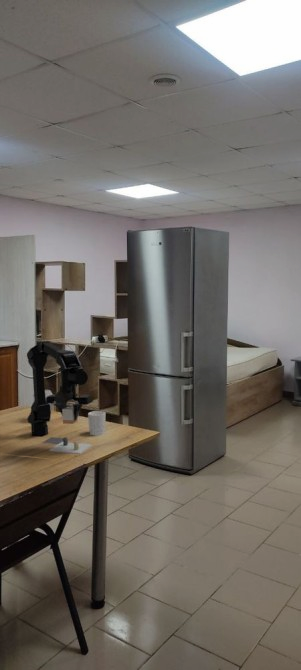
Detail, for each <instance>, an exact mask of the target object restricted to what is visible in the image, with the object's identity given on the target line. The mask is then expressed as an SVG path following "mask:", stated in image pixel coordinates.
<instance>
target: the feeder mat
mask: <svg viewBox="0 0 301 670" xmlns="http://www.w3.org/2000/svg"><path fill="white" fill-rule="evenodd" d="M63 438H64V437H54V436H51V437H49V438H47V439H46V440H44V441H43V442H42V444H51V445H52V444H53V445H58V444H59V443H61V442H63Z"/></svg>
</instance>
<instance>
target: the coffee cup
mask: <svg viewBox="0 0 301 670" xmlns="http://www.w3.org/2000/svg"><path fill="white" fill-rule="evenodd" d="M52 394H53V393H52V391H51V390H50V389H45V399H46V398H47V396H50V395H52ZM32 395H33V398H34V394H32ZM48 404H50V403H48ZM50 410H51V411H52V404H50ZM51 418H52V415H51V416H50V421H51ZM50 421H48V422H47V423H49V422H50Z"/></svg>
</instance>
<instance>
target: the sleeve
mask: <svg viewBox="0 0 301 670" xmlns="http://www.w3.org/2000/svg"><path fill="white" fill-rule="evenodd" d="M62 414H63V416H62V424H66V425H68V424H69V425H73V424H75V423H77V422H78V419H79V418H77V420H76V421H75V420H74V407H73V406H67V407H66V408H63V409H62ZM62 414H61V415H62Z"/></svg>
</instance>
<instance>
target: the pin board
mask: <svg viewBox="0 0 301 670" xmlns="http://www.w3.org/2000/svg"><path fill="white" fill-rule="evenodd" d="M62 438H63V442H61V443H59V444H55V445H54V446H53V447H51V448H50V449H49V450H48V451H49V452H53V453H54V452H55V453H56V452H57V453H67V454H75V455H76V454H79V455H81V454H82V453H83V454H84V452H85V451H87V450H88V449H89V448H91V447H92V446H93V444H89V443H79V441H74V442H68V439H69V438H68V437H62Z"/></svg>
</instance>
